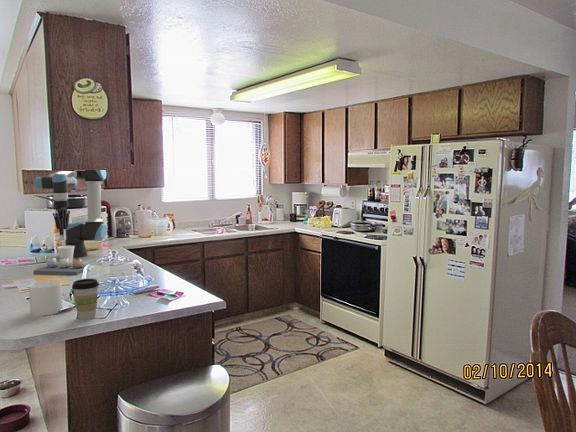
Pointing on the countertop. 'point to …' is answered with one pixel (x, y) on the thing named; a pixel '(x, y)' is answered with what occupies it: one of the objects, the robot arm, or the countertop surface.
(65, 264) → the button two
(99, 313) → the countertop surface
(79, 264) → the button three
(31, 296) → the cup
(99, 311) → the countertop surface
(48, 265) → the button one
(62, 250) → the cup
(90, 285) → the coffee cup
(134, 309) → the countertop surface
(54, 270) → the console
